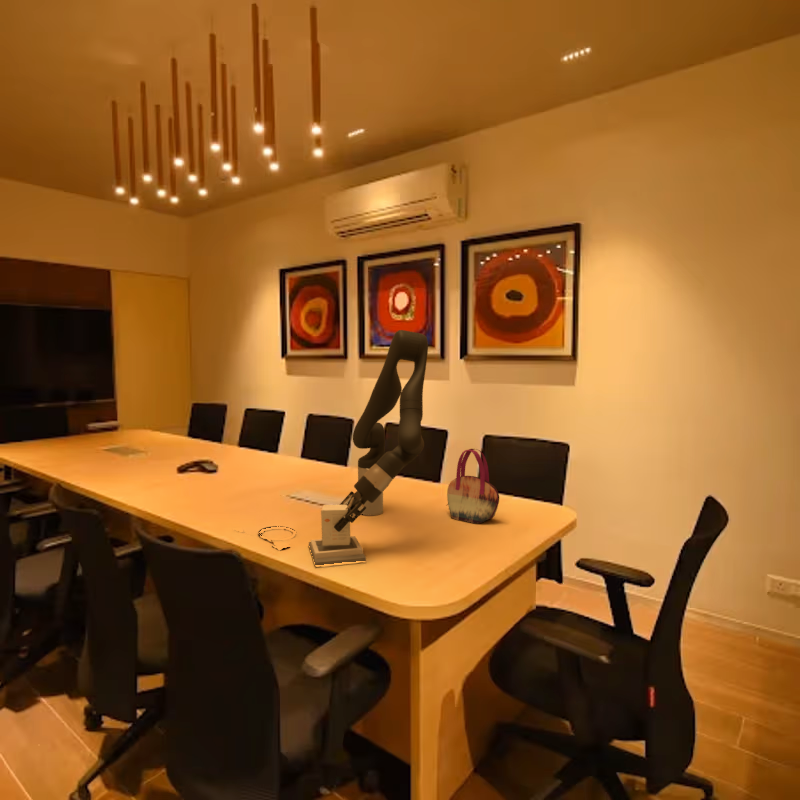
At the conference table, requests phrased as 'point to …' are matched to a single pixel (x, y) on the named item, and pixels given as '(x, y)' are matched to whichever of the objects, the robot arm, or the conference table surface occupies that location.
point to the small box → (328, 520)
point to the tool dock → (336, 552)
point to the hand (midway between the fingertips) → (334, 525)
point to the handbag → (472, 492)
